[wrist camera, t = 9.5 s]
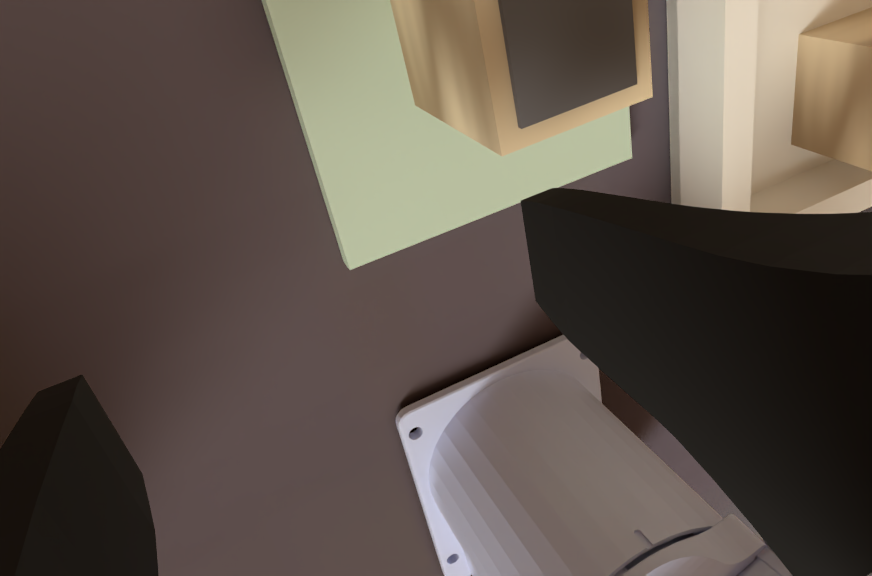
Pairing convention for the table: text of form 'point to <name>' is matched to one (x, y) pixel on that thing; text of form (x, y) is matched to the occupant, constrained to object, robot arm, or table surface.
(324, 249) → the table surface
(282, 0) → the pad
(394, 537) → the table surface
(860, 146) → the plain block
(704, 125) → the tray
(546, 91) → the labelled block
